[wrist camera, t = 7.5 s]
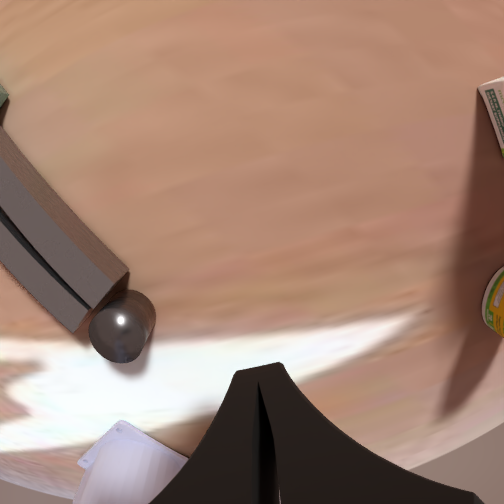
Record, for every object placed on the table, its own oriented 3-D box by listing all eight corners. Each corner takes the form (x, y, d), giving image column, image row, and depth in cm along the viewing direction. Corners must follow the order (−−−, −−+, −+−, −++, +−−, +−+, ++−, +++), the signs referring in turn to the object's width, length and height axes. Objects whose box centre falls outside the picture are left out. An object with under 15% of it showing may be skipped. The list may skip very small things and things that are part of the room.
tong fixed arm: (119, 366, 19) (103, 395, 16) (-67, 163, 14) (-93, 166, 11) (165, 312, 18) (153, 339, 15) (-40, 103, 14) (-67, 99, 10)
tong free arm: (149, 246, 17) (135, 258, 14) (109, 292, 17) (93, 309, 15) (-17, 61, 13) (-38, 54, 10) (-44, 105, 13) (-65, 102, 11)
